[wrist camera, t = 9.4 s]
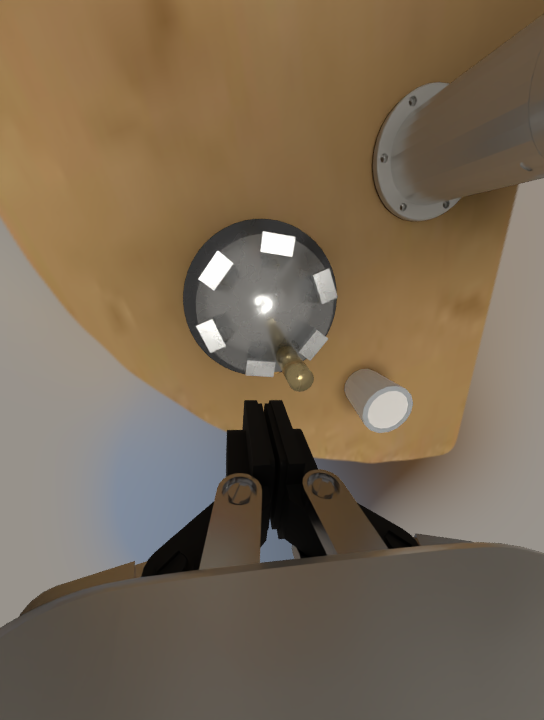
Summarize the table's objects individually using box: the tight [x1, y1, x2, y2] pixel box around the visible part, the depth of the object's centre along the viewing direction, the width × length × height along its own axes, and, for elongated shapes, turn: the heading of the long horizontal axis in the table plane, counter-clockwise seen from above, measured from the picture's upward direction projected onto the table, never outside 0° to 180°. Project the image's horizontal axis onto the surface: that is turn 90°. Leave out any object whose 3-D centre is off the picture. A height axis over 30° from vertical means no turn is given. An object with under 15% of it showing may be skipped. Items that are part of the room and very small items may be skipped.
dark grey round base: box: [183, 219, 337, 374], centre depth 33 cm, size 18×18×2 cm
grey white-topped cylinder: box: [344, 369, 413, 433], centre depth 38 cm, size 7×7×7 cm
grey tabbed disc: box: [196, 231, 338, 392], centre depth 27 cm, size 15×15×9 cm
